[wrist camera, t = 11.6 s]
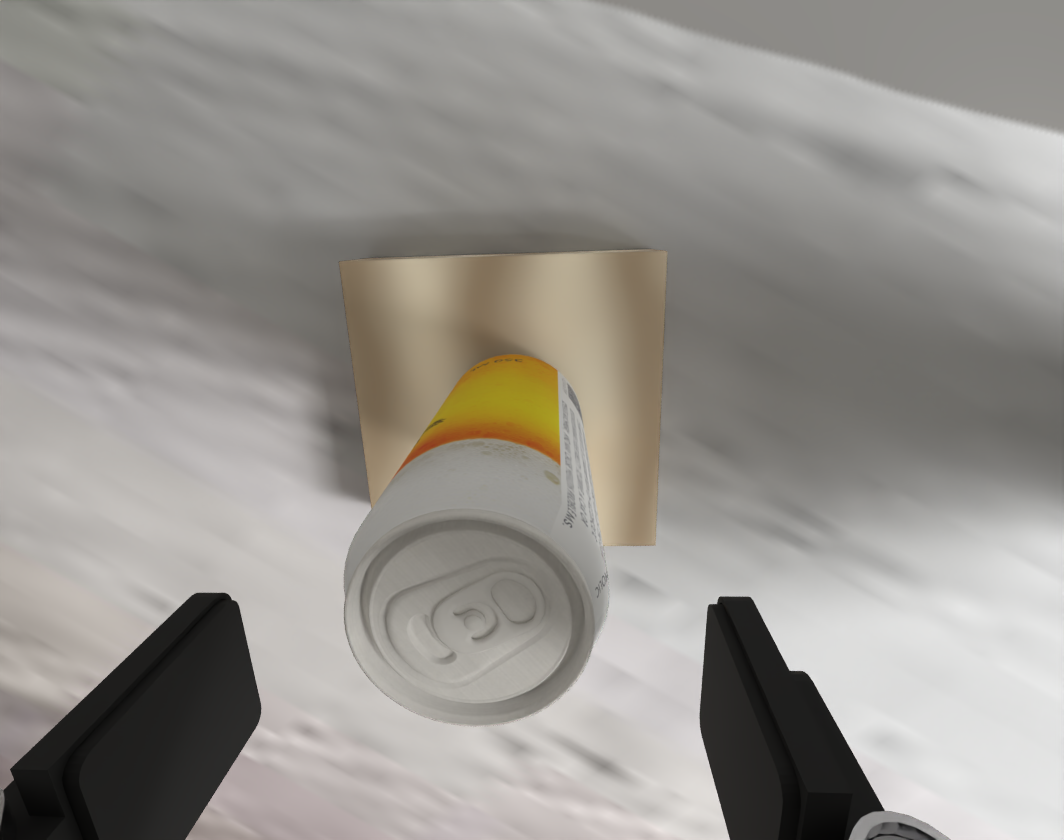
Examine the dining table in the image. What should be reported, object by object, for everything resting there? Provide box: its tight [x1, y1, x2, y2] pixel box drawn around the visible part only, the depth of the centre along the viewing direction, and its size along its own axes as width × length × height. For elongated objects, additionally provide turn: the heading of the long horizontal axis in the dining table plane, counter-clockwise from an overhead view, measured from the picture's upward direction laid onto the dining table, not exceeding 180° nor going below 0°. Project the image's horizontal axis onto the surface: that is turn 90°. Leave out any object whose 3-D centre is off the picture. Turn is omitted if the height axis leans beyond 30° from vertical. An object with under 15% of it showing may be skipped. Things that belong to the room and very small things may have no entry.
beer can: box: [344, 354, 609, 727], centre depth 19 cm, size 6×6×15 cm
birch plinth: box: [339, 249, 667, 546], centre depth 28 cm, size 14×14×4 cm
